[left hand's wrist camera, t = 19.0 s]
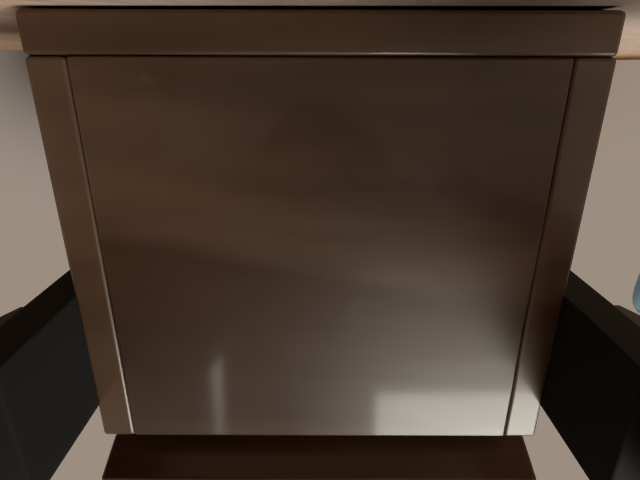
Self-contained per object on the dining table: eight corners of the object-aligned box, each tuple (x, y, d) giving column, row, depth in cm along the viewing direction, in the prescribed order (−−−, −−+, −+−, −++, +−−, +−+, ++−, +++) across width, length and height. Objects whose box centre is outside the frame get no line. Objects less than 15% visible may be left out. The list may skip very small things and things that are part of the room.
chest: (423, 49, 21) (410, 223, 24) (217, 49, 21) (230, 222, 24) (629, 9, 7) (534, 437, 10) (11, 8, 7) (103, 435, 10)
